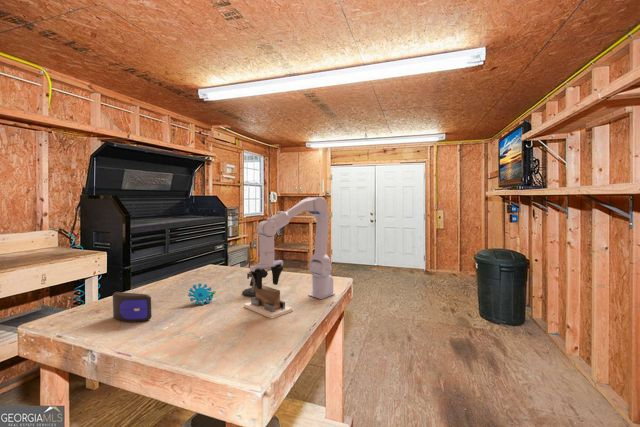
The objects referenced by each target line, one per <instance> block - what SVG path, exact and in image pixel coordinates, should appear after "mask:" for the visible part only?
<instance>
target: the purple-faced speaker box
mask: <svg viewBox="0 0 640 427" xmlns="http://www.w3.org/2000/svg"><path fill="white" fill-rule="evenodd" d="M112 314H113V315H112V316H113V319H114V320H116V321H118V322H123V323H143V321H144V322H148V321H150V320H151V319H152V317H153V316H152V297H151V296H150V294H146V293H145V294H144V293H135V292H123V291H121V292H120V291H115V292H114V293H113V294H112Z"/></svg>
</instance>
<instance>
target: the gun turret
mask: <svg viewBox="0 0 640 427" xmlns="http://www.w3.org/2000/svg"><path fill="white" fill-rule="evenodd" d="M270 271H272V270H271V267H270V268H265V269H261V272H264V273H263V277H262V279H263V278H264V279H266V277H267V276H268V275H269V273H268V272H270ZM246 275H247V276H246V278H247V280H249V279H250V278H251V279H250V282H249V286H250V287H248V288H245V289H243V291H241V292H242V293H241V294H242V295H243V296H244V297H249V298H252V297H254V298H256V286H257V285H256V282H255V279H254V277H253V275H252V274H251V271H249V272H247V274H246Z"/></svg>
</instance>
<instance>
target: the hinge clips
mask: <svg viewBox="0 0 640 427" xmlns="http://www.w3.org/2000/svg"><path fill="white" fill-rule="evenodd" d="M250 302H251V304H253V305H255V306H258V307H259V306H260V300H259V299H256V297H250ZM285 305H286V301H284V300H281V299H280V308H282V309H284V308H285ZM264 309H265V310H268V311H270V312H275V305H272V304H270V303H267V302H266V303H264Z"/></svg>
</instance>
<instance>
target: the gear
mask: <svg viewBox="0 0 640 427" xmlns="http://www.w3.org/2000/svg"><path fill="white" fill-rule="evenodd" d="M197 286H198V288H197ZM193 289H194V290H193ZM216 293H217V291H216V290H213V291H212V287H210V286H209V287H208V284H206V283H205V284H204V285H203V284H202V283H201V282H199V283H198V284H193V285H192V287H190V288H189V289H188V295H187V297H189V300H190V302H193V301H194V300H195V301H194V305H198V304H199V305H200V306H204V305H205V304H206V305H207V304H209V303H210V301H211V300H213V298H214V295H216ZM199 302H200V303H199Z"/></svg>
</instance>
